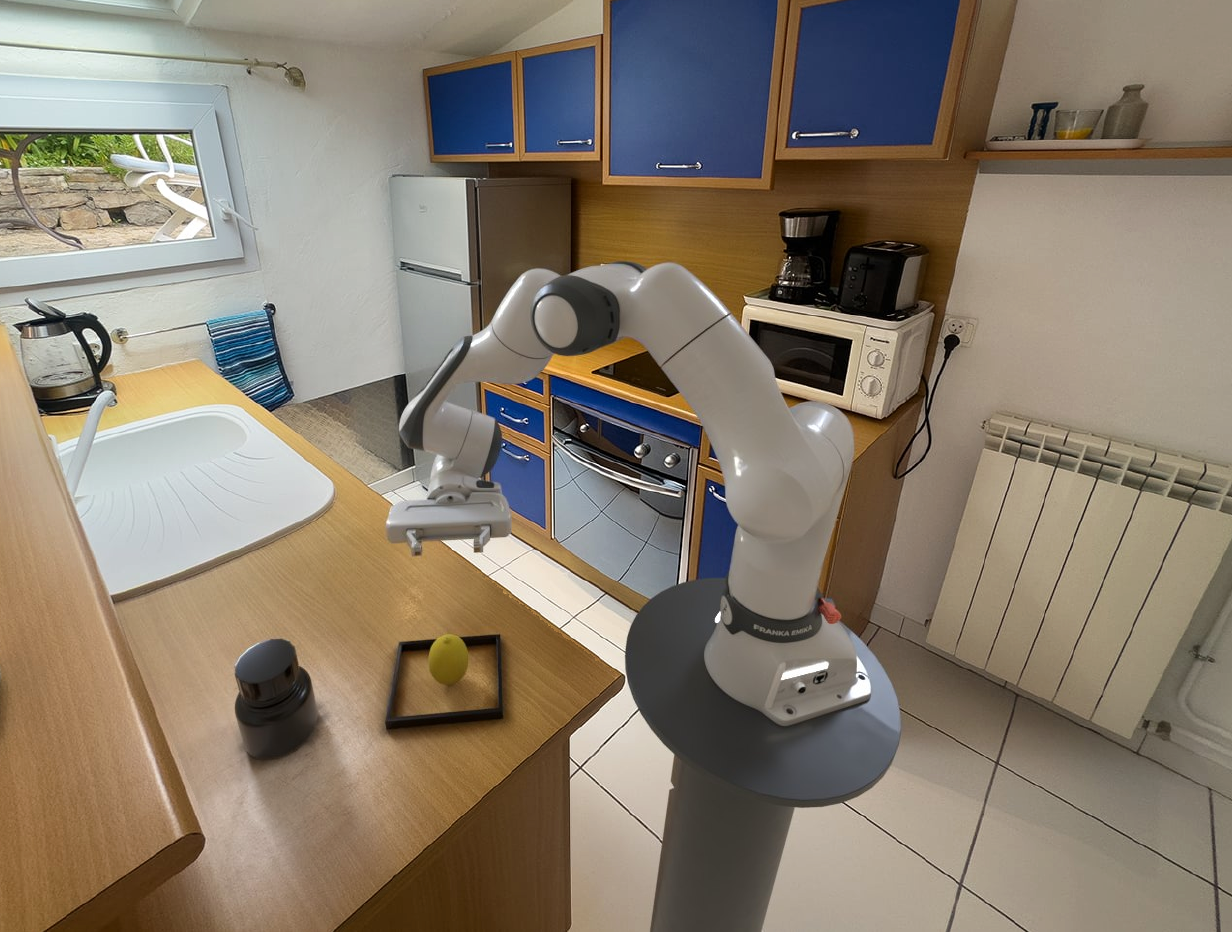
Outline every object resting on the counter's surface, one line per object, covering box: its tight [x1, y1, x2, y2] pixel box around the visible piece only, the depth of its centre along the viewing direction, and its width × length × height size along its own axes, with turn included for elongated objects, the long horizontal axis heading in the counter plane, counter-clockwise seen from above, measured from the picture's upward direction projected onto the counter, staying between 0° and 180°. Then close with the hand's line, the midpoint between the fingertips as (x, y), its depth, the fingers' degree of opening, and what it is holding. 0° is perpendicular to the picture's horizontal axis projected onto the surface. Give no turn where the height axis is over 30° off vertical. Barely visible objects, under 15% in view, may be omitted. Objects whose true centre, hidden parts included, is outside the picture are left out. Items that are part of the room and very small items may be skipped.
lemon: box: [427, 633, 470, 686], centre depth 80 cm, size 6×6×8 cm
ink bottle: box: [234, 638, 319, 760], centre depth 73 cm, size 10×9×12 cm
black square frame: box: [384, 633, 504, 731], centre depth 82 cm, size 15×13×2 cm
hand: (447, 551), depth 89 cm, fingers open, 8 cm apart
